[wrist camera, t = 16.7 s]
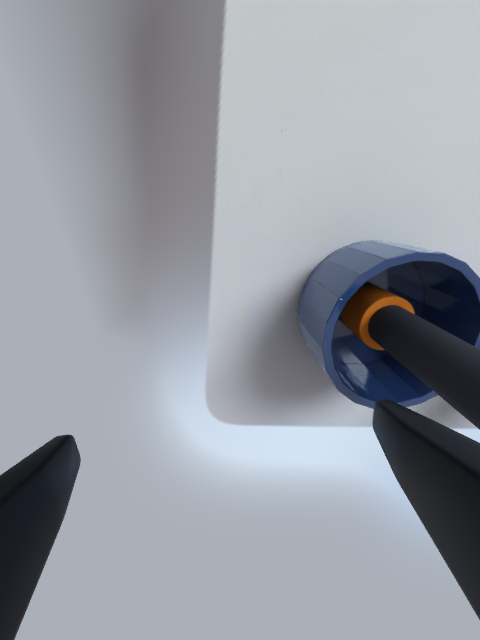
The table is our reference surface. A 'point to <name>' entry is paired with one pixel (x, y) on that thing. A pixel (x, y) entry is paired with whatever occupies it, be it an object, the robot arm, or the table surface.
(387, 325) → the scrub stick
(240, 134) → the table surface
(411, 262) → the blue plastic pot
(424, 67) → the table surface
